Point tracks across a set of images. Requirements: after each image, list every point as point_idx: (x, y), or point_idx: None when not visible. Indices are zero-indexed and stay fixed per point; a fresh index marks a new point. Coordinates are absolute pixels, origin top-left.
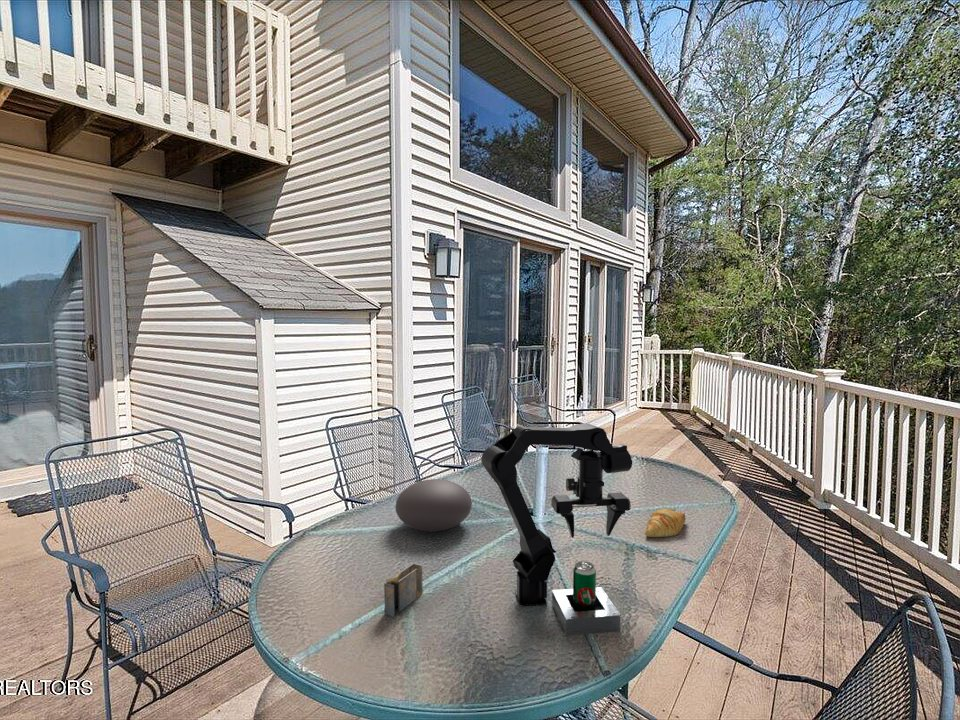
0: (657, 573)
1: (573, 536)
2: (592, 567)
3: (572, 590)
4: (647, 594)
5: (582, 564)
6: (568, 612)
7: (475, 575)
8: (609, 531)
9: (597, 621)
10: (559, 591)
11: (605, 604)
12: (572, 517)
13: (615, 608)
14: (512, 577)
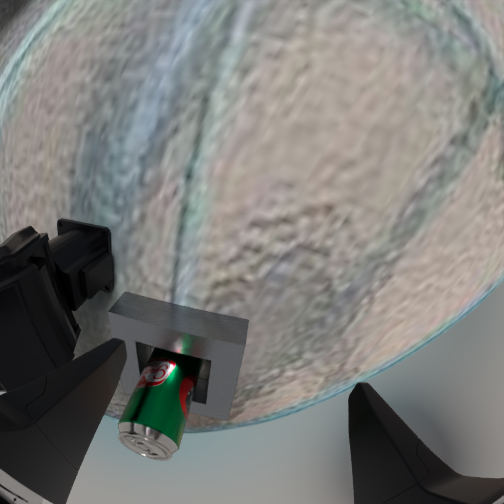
0: (468, 247)
1: (121, 367)
2: (165, 455)
3: (157, 332)
4: (377, 324)
5: (138, 445)
6: (130, 384)
7: (15, 121)
8: (352, 429)
9: None
10: (124, 323)
11: (215, 395)
12: (61, 489)
13: (229, 408)
14: (67, 138)
